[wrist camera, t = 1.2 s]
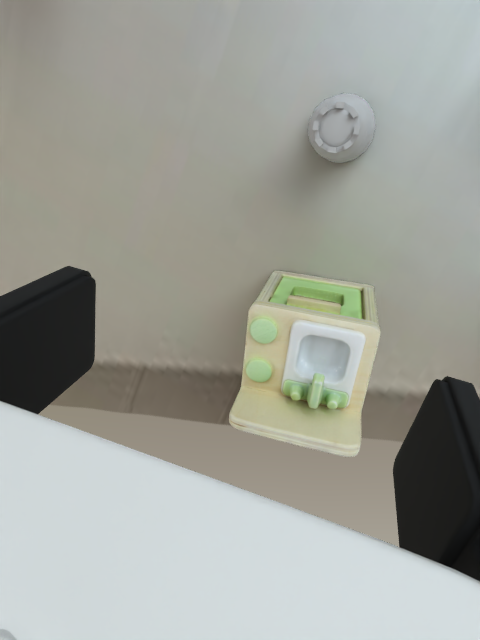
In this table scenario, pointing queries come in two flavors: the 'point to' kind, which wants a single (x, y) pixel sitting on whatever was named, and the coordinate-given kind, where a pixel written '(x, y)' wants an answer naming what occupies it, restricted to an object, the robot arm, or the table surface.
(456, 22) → the table surface
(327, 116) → the rook chess piece
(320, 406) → the toy sink
